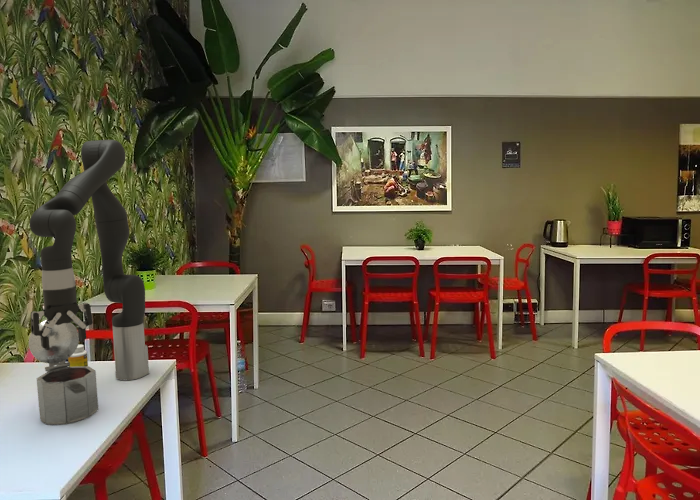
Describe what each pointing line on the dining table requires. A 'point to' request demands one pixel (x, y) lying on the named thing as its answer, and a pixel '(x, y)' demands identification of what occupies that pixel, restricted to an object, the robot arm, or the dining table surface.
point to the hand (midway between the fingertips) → (64, 345)
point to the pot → (67, 395)
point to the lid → (55, 345)
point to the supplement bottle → (78, 357)
